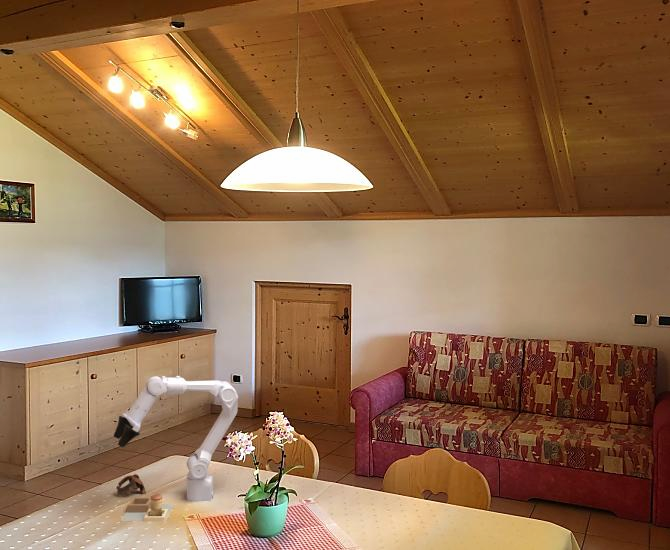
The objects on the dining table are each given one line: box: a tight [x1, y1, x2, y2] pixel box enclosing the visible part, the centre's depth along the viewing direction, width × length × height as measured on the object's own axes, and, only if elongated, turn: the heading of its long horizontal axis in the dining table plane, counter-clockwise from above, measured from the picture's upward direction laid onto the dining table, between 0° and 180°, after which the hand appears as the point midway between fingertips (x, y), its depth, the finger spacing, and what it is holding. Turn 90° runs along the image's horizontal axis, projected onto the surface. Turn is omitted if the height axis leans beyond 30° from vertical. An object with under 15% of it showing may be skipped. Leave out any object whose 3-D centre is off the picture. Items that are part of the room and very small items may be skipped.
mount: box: [120, 496, 175, 522], centre depth 230 cm, size 15×14×4 cm
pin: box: [150, 493, 163, 516], centre depth 226 cm, size 4×4×7 cm
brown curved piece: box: [116, 473, 147, 496], centre depth 248 cm, size 12×10×8 cm
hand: (118, 441), depth 233 cm, fingers open, 7 cm apart
